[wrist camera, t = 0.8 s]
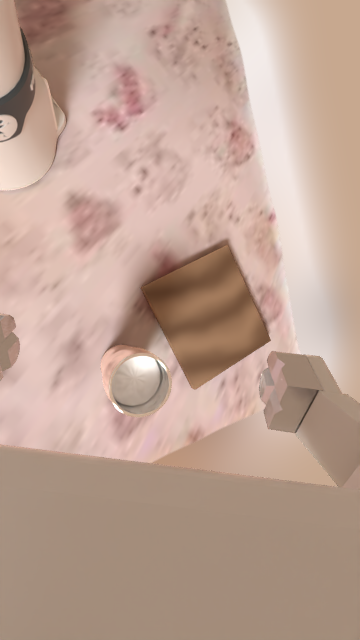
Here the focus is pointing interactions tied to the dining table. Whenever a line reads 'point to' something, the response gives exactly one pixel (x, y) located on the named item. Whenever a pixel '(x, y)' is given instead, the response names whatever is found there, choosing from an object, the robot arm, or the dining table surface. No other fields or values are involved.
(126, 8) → the dining table surface
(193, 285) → the walnut board
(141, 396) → the beer glass
